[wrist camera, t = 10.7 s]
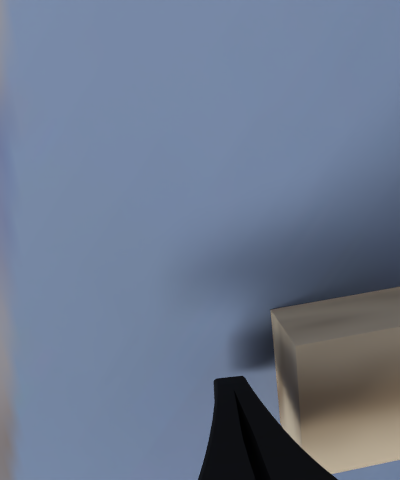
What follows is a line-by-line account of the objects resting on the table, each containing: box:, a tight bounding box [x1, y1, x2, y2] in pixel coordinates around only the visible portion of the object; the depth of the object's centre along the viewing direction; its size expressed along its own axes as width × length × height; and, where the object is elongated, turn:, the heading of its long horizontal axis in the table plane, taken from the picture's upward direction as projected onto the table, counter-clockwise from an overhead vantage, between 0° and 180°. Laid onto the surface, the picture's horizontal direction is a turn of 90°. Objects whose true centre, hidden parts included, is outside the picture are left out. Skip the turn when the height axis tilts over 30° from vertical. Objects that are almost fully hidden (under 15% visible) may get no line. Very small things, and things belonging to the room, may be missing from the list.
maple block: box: [271, 287, 400, 474], centre depth 13 cm, size 7×7×3 cm
